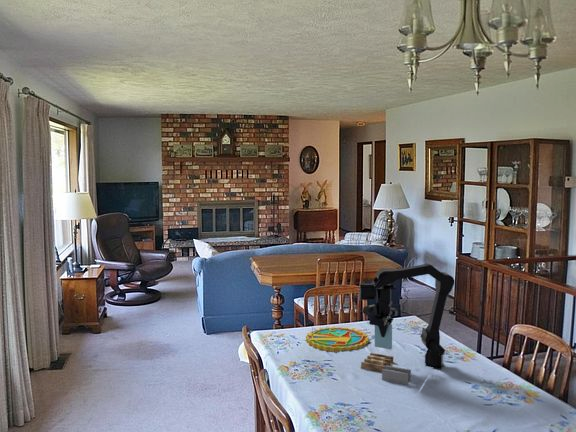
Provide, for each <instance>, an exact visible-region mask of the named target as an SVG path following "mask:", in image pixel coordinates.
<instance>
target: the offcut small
mask: <svg viewBox="0 0 576 432" xmlns="http://www.w3.org/2000/svg"><path fill="white" fill-rule="evenodd" d="M371 363H372V364H377V365H384V361H381V360H375V359H371Z"/></svg>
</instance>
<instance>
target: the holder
mask: <svg viewBox="0 0 576 432" xmlns="http://www.w3.org/2000/svg"><path fill="white" fill-rule="evenodd" d="M411 379H412V369H409V368H403V367H398V366H393V365H392V366H388V365H386V366H385V369H382V372H381V380H382V381H386V382H393V383H397V384H402V385H409V383H410V381H412V380H411Z"/></svg>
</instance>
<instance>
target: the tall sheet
mask: <svg viewBox="0 0 576 432" xmlns="http://www.w3.org/2000/svg"><path fill="white" fill-rule="evenodd" d="M374 347H375V348H379V349H380V348H381V349H386V350H392V348H393V324H391V325H390V324H389V326H388V328H387V331H386V334H385V336H384V337H381V333H380V330H379V327H378V326H376V325H374Z"/></svg>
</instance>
